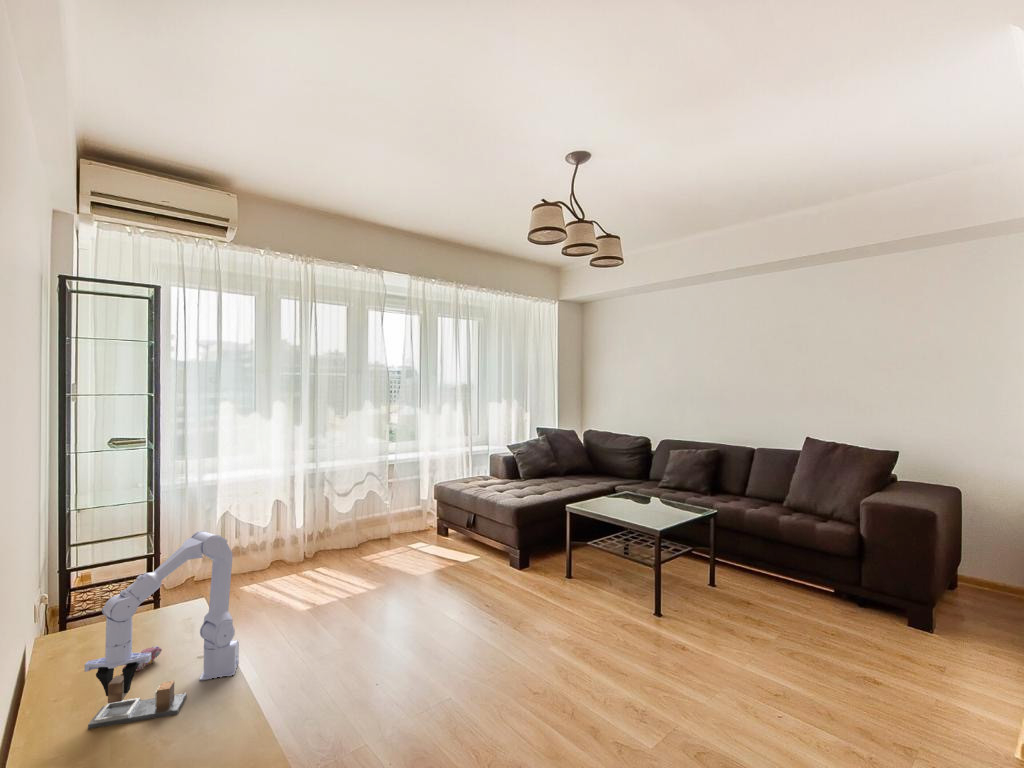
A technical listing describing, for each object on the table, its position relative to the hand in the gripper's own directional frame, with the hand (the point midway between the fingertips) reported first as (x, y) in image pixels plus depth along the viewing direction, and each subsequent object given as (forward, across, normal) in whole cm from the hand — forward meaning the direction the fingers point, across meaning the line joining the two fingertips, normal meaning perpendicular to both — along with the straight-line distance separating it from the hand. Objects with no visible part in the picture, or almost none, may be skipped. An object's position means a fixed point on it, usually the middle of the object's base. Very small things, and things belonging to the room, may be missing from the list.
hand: (118, 692), depth 136 cm
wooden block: (+2, 0, 0) cm, 2 cm away
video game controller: (+6, -3, +27) cm, 28 cm away
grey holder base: (+6, +5, 0) cm, 8 cm away
